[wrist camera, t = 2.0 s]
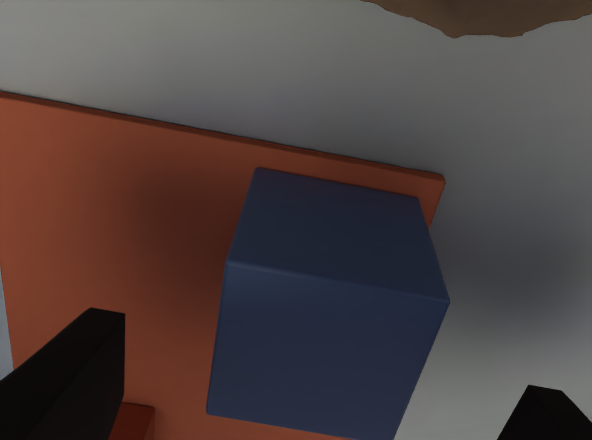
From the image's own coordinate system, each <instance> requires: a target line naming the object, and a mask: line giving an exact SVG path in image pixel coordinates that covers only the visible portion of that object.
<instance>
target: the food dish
mask: <svg viewBox="0 0 592 440" xmlns="http://www.w3.org/2000/svg"><path fill="white" fill-rule="evenodd" d="M361 1H366V2H371V3H376V4H378V5H379V6H381V7H382V8H384V9H385V10H388V11H391V12H393V13H396V14H399V15H402V16H406V17H412V18H414V19H416V20H418V21H420V22H423V23H426V24H428V25H430V26H432V27H435V28H437V29H439V30H441V31H442V32H443V33H444V34H445V35H446V36H449V37H451V38H458V37H460V36H463V35H494V36H500V37H515V36H522V35H523V33H525V32H527V31H530V30H534V29H536V28H538V27H540V26H542V25H544V24H548V23H551V22H557V21H565V20H576V19H578V18H580V17H582V16H585V15H590V14H591V13H592V0H361Z"/></svg>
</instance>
